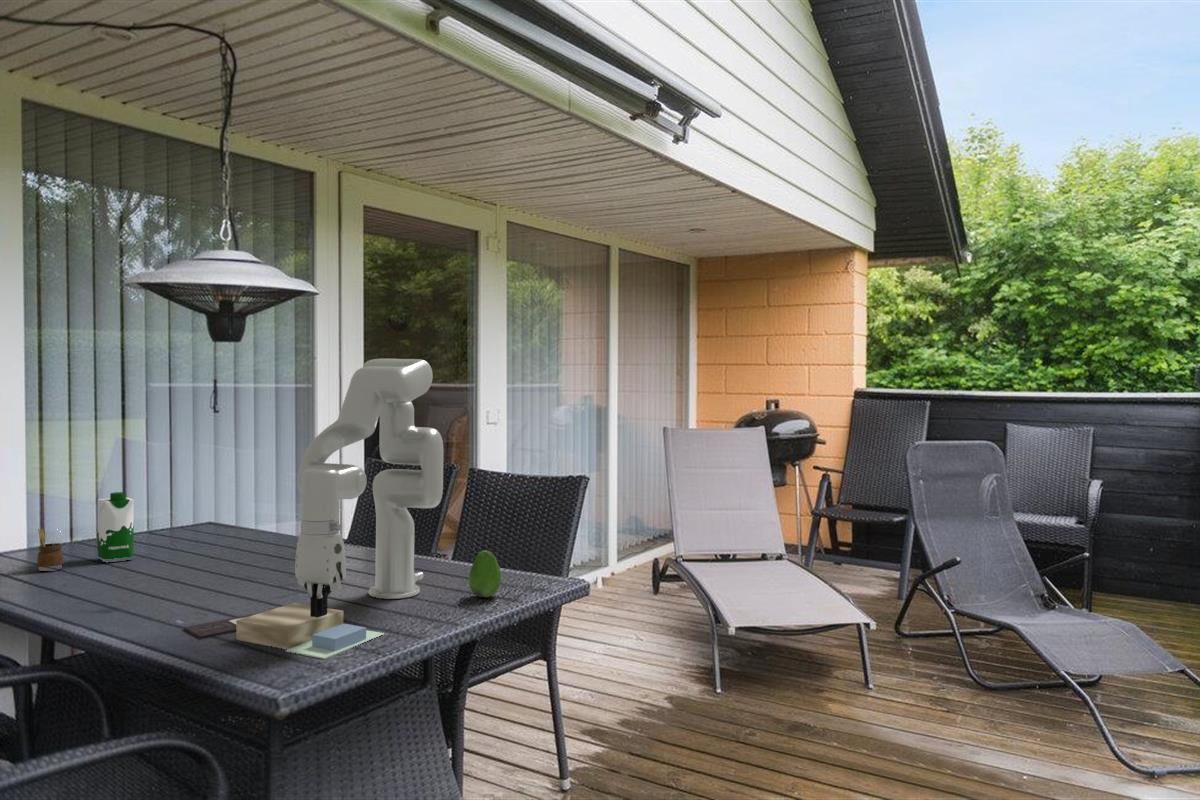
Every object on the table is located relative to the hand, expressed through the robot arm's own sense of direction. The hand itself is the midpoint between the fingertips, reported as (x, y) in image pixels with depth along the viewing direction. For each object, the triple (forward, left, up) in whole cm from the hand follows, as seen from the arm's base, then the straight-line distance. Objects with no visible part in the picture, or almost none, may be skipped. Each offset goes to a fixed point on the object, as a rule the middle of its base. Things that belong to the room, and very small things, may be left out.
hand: (318, 615), depth 173 cm
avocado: (-46, +11, -5) cm, 48 cm away
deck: (0, -8, -5) cm, 9 cm away
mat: (0, +5, -5) cm, 7 cm away
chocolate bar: (+1, -23, -6) cm, 23 cm away
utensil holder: (-13, -109, -5) cm, 109 cm away
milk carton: (-30, -106, -5) cm, 110 cm away
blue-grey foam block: (0, +6, -2) cm, 6 cm away
